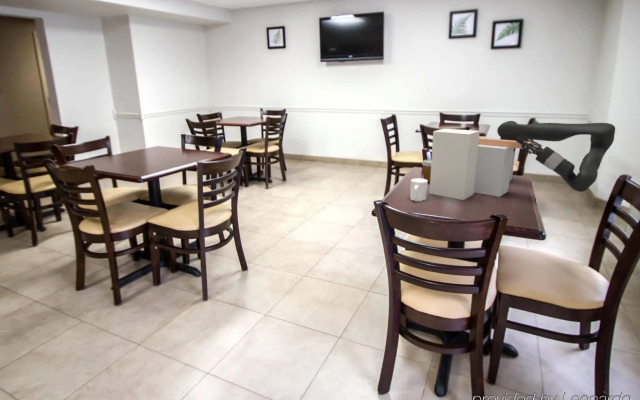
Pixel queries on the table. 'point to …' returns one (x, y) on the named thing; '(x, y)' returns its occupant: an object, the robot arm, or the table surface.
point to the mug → (418, 189)
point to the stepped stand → (468, 165)
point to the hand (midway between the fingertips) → (518, 137)
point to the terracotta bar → (500, 143)
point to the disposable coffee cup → (427, 170)
